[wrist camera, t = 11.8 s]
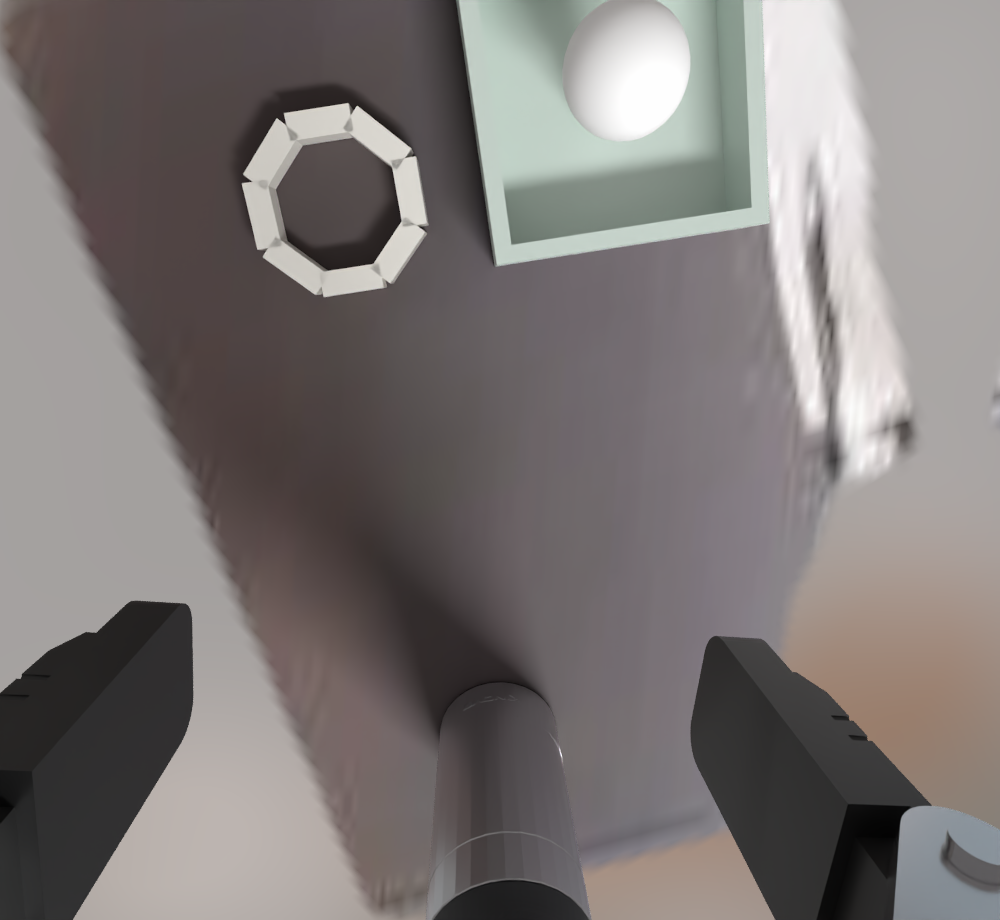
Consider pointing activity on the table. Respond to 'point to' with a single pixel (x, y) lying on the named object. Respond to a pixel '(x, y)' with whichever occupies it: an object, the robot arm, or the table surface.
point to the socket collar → (277, 160)
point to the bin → (604, 163)
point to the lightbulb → (626, 69)
